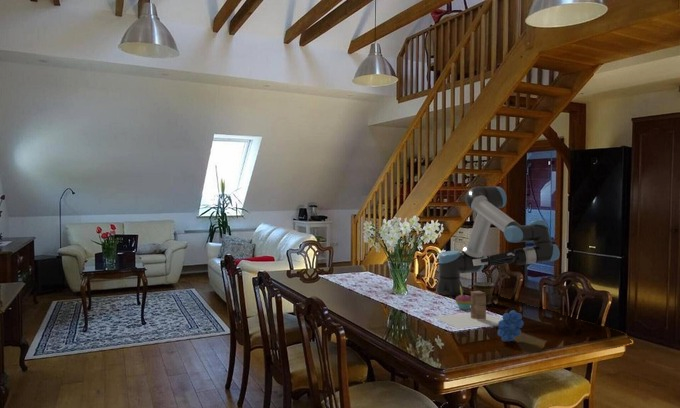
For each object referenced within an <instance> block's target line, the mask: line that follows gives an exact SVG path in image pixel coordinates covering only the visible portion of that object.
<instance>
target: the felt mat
mask: <svg viewBox="0 0 680 408" xmlns="http://www.w3.org/2000/svg"><path fill="white" fill-rule="evenodd" d="M434 318H435V319H437V320H439V321H441V322H443V323H445V324H446V325H449V326H451V327H453V328H455V329H457V330H459V329H466V328H476V327H483V326H486V327H487V326H491V325H492V326H495V325H498V323H499V321H501V320H503V318H502V319H501V318H499V317H496V316H494V315H491V314H489V313H487V312H486V320H479V321H477V320H475V319H472V318H471V312H467V313H465V312H464V313H457V314H456V313H455V314H448V315H446V314H445V315H441V316H440V315H439V316H434Z"/></svg>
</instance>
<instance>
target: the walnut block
mask: <svg viewBox="0 0 680 408" xmlns="http://www.w3.org/2000/svg"><path fill="white" fill-rule="evenodd" d="M471 291H472V292H471ZM471 291H470V297H471V305H470V313H471V318H472V319H475V320H477V321H479V320H486V313H487V305H486V293H484V292H481V291H475V290H471Z"/></svg>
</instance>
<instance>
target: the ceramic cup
mask: <svg viewBox="0 0 680 408" xmlns="http://www.w3.org/2000/svg"><path fill="white" fill-rule="evenodd" d="M469 287H472V288H473V289H474V290H471V289H470V288H469ZM494 287H495V286H494V283H492V282H488V281H487V282H485V281H477V282H474V283H473V285H472V284H469V285H468V286H467V289H468V291H469V292H470V293H471V292H472V291H481V292H484V293H486V306H487V305H491V303H492V297H493V292H494Z"/></svg>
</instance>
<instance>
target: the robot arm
mask: <svg viewBox="0 0 680 408" xmlns="http://www.w3.org/2000/svg"><path fill="white" fill-rule="evenodd" d="M464 198H465V199H464V201H465V204H466V206H467V207H468V208H469V209H470V210H471V211H472V212H474V213H477V214H476V217H475V219H474V222H473V225H472V229H471V231H470V232H471V233H470V235H469V238H468V242H467V244H466V246H464V247H463V248H462V251H461V252H460V251H459V250H447V251H443V252H441V253H440V254H439V255H438V281H437V284H436V288H435V293H436V294H438V295H442V296H459V295H461V291H460V286H461V288H462V295H464V287H463V283H462V282H461V274H470V273H471V274H474V273H478V272H480V271H482V270H483V269H484V267H485V265H487V267H491V266H507V265H508V264H512V263H515V265H516V266H523V265H528V264H530V265H534V264H538V263H547V262H548V263H549V262H554V261H557V260H559V258H560V255H561V253H560V249H559V246H558V245H557V244H554V243H552V240H551V236H550V231H549V227H548V224H547V221H546V220H545V219H535V220H532V221H530V222H529V224H527V225H526V224H525V225H521V224H520V223H518V222H517V221H516V220H514V219H513V218H512V217H510V216H509V215H508V214H506V213H505V212H504V211H502V210H501V209H502V208H504V207H505V206H506V205H507V194H506V192H505V190H504V189H503V188H502V187H501V186H496V185H495V186H494V185H492V186H489V185H488V186H487V185H486V186H478V185H477V186H474V187H471V188H470V189H469V190H468V191H467V192H466V194H465V197H464ZM491 225H493V226H495V227H496V228H497V229H499V231H501V232H503V236H504V238H505V241H507V242H508V243H523V242H524V243H525V242H526V243H527V242H533V245H534V246H529V247H528V246H527V247H523V248H515V249H514V250H513V252H512V251H511V250H509V251H506V252H502V253H497V254H496V253H495V254H492V255H487V256H486V257H485V255H484V251H483V249H484V246H485V242H486V239H487V238H488V233H489V230H490V227H491Z"/></svg>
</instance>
